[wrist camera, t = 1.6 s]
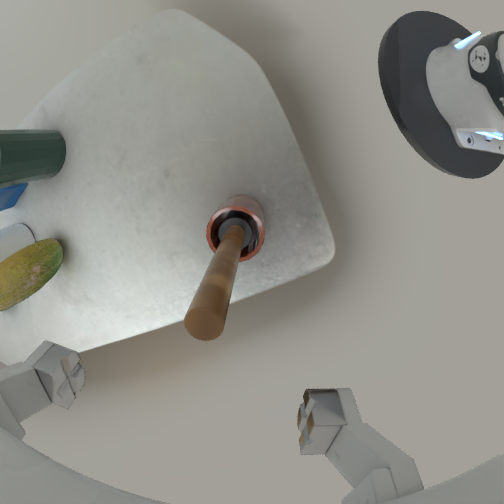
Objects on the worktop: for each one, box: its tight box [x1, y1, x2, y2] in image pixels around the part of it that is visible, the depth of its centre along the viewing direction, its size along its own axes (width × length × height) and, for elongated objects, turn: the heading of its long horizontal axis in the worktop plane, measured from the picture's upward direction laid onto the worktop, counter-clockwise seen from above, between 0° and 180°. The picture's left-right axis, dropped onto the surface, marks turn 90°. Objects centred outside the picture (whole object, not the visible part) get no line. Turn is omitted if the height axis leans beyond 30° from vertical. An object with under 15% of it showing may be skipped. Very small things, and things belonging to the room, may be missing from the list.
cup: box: [0, 129, 66, 189], centre depth 25 cm, size 7×8×13 cm
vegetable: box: [0, 238, 63, 311], centre depth 26 cm, size 6×6×20 cm
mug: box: [0, 223, 35, 262], centre depth 31 cm, size 12×8×10 cm
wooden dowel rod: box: [184, 210, 254, 341], centre depth 22 cm, size 3×3×22 cm
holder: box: [206, 195, 265, 262], centre depth 30 cm, size 5×5×8 cm
